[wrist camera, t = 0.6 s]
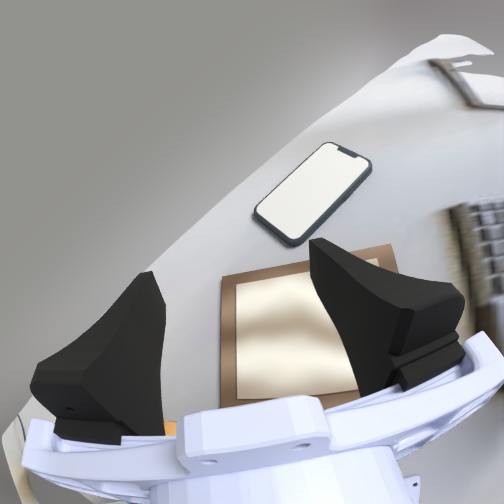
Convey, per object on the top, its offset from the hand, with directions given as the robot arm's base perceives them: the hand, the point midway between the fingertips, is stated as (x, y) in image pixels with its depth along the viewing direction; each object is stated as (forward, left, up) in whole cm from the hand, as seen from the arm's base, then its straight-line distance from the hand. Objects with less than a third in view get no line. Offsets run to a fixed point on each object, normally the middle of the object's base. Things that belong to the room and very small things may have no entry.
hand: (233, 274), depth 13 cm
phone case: (+19, -3, -19) cm, 27 cm away
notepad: (+1, -1, -18) cm, 18 cm away
